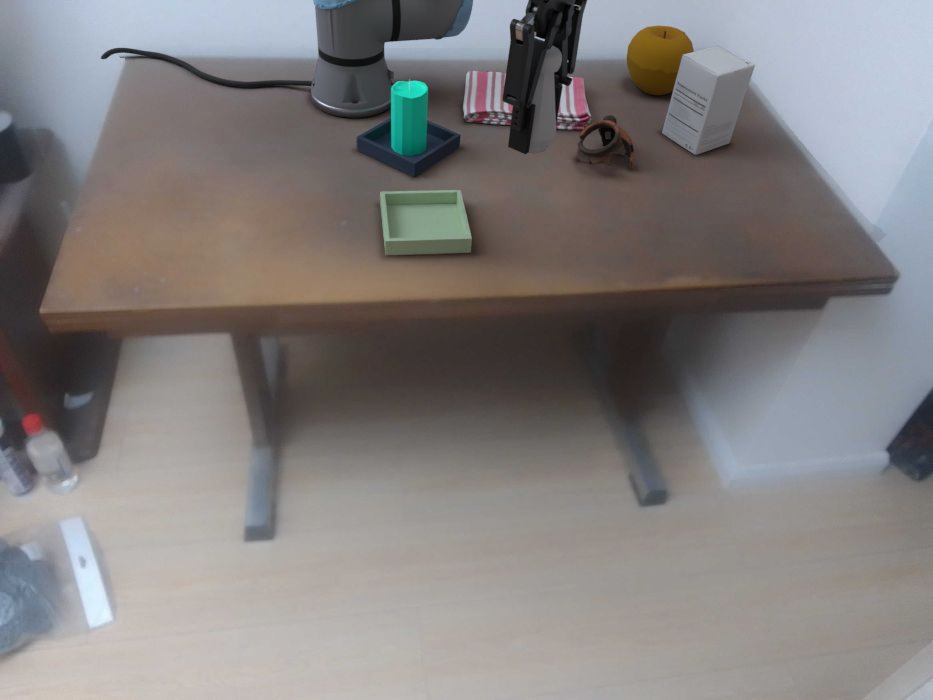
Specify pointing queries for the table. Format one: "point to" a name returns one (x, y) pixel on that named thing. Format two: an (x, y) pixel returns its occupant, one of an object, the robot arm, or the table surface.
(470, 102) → the dish towel
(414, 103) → the candle
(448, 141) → the dark tray
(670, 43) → the apple
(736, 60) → the rectangular carton
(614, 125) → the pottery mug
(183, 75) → the table surface
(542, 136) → the salt shaker
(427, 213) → the pale tray
